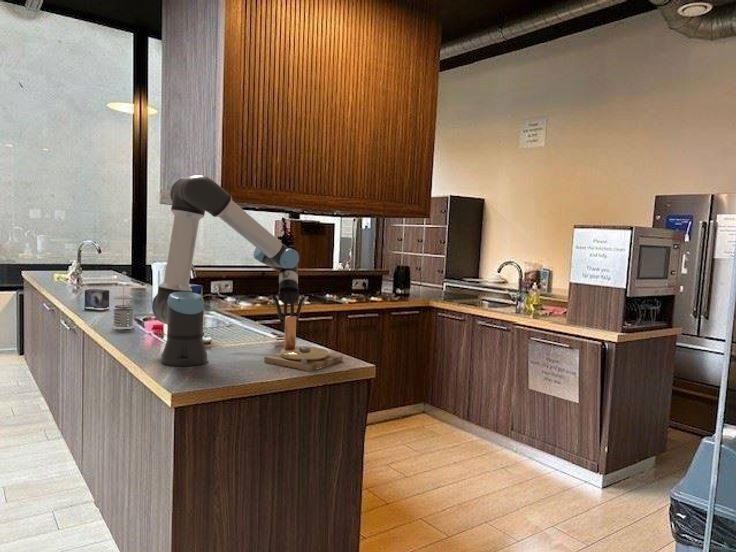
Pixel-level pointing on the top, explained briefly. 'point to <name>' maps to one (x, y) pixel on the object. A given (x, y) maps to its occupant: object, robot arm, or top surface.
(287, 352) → the disc
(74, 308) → the top surface
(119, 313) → the french press
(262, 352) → the top surface
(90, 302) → the small box
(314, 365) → the levelling stand
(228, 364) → the top surface
